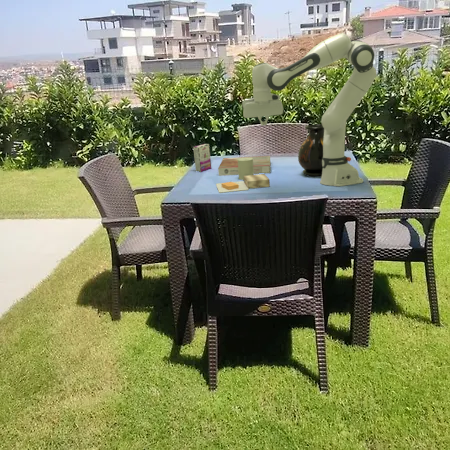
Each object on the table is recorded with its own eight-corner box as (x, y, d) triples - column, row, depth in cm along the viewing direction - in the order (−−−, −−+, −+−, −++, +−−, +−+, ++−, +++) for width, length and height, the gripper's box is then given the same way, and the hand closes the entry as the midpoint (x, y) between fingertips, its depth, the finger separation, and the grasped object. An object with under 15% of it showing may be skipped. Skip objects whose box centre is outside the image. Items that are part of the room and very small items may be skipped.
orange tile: (231, 185, 249) (231, 181, 248) (238, 188, 241) (238, 184, 240) (221, 186, 246) (221, 183, 246) (228, 190, 239) (228, 186, 238)
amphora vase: (336, 177, 248) (336, 127, 239) (297, 178, 253) (296, 129, 244) (335, 169, 268) (335, 122, 259) (299, 170, 273) (298, 124, 263)
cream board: (243, 181, 256) (243, 180, 256) (248, 190, 237) (248, 189, 237) (215, 184, 255) (215, 183, 255) (219, 193, 236) (219, 192, 236)
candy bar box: (206, 168, 300) (203, 143, 295) (211, 168, 298) (209, 144, 292) (195, 171, 292) (192, 146, 287) (200, 172, 289) (198, 147, 284)
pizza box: (218, 168, 274) (223, 158, 304) (218, 176, 275) (223, 165, 305) (270, 165, 270) (270, 155, 300) (270, 174, 272) (270, 163, 302)
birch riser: (264, 180, 254) (264, 173, 253) (269, 186, 241) (269, 179, 240) (244, 182, 253) (243, 176, 252) (247, 188, 240) (247, 181, 239)
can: (240, 180, 259) (239, 160, 255) (237, 177, 267) (235, 157, 263) (255, 178, 260) (254, 158, 256) (251, 175, 269) (250, 156, 265)
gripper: (242, 99, 219) (244, 128, 224) (283, 95, 221) (284, 123, 225) (240, 99, 225) (243, 126, 230) (280, 95, 227) (281, 122, 231)
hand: (263, 125), depth 227 cm, fingers closed
